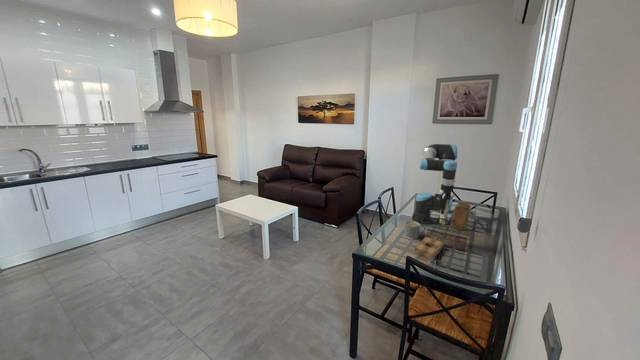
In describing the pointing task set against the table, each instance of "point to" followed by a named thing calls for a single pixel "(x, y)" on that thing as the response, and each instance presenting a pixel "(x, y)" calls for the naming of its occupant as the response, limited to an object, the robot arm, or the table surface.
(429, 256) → the board
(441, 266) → the table surface
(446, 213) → the peg
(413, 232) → the coffee mug
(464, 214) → the block
